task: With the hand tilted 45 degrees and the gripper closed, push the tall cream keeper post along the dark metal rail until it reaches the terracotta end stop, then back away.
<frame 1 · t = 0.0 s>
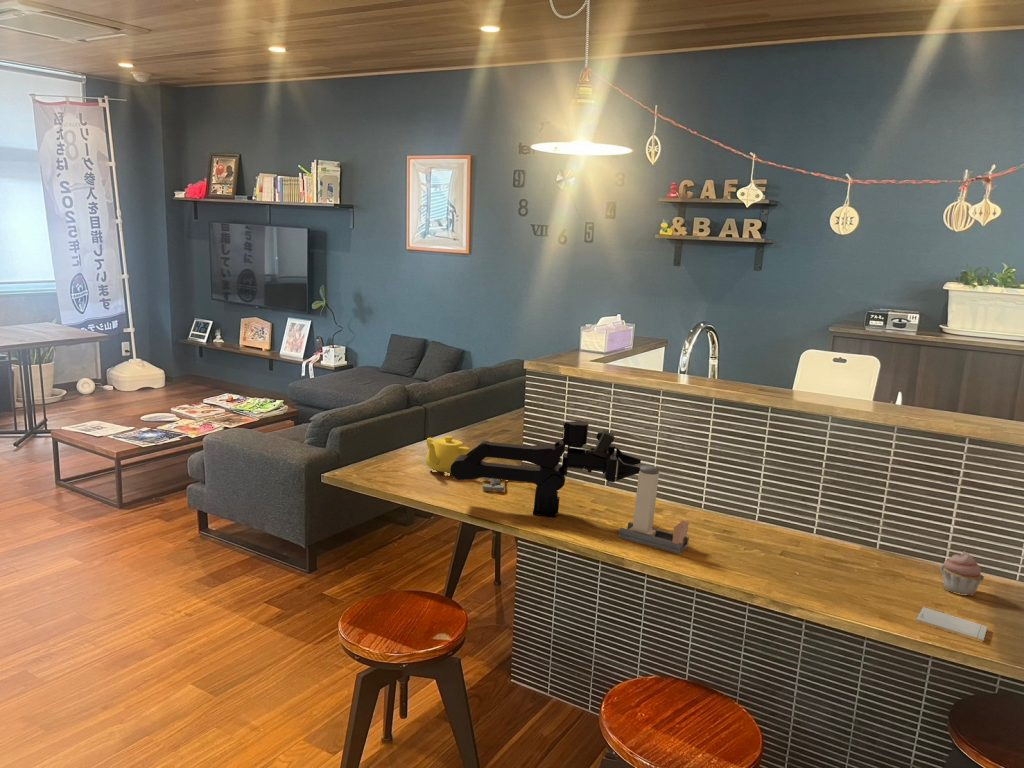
hand: (641, 465, 207), 17 cm above the table, tool horizontal, fingers open, 9 cm apart
rail: (641, 538, 197), on the table
cupcake: (958, 591, 180), on the table
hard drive: (950, 629, 160), on the table
teapot: (442, 473, 242), on the table
pulley system: (505, 483, 238), on the table
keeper: (645, 501, 195), point 10 cm above the table, slide at 0.0 cm
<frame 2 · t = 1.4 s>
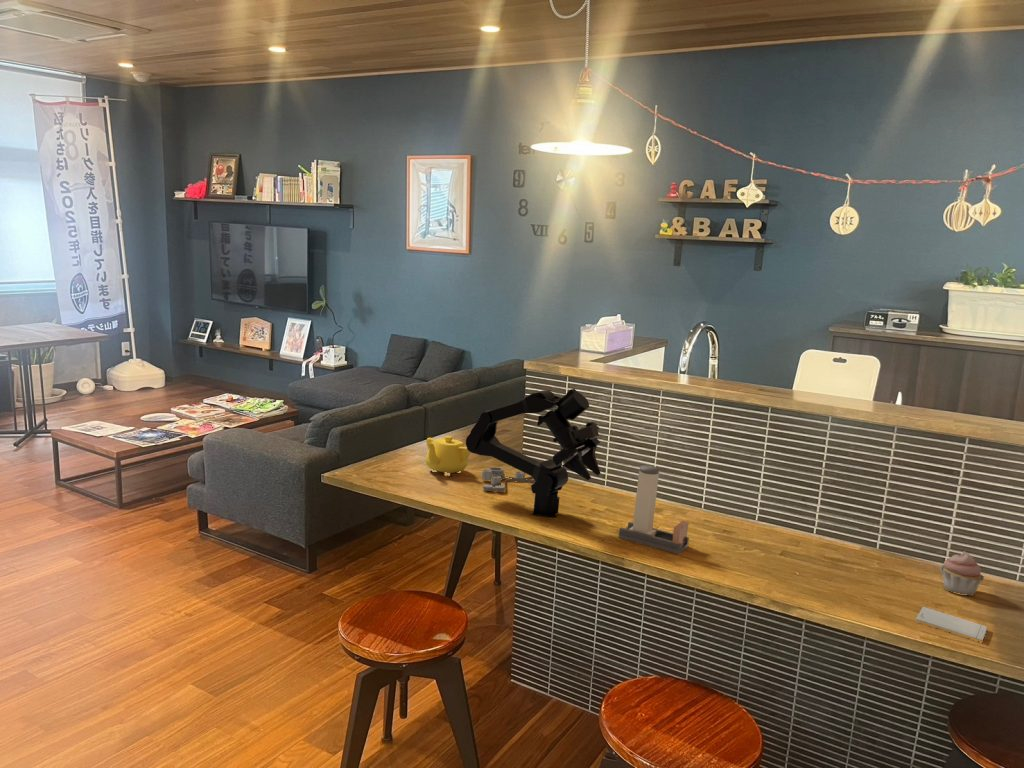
hand: (594, 476, 202), 14 cm above the table, tool tilted 45°, fingers open, 6 cm apart
nothing on the table moved.
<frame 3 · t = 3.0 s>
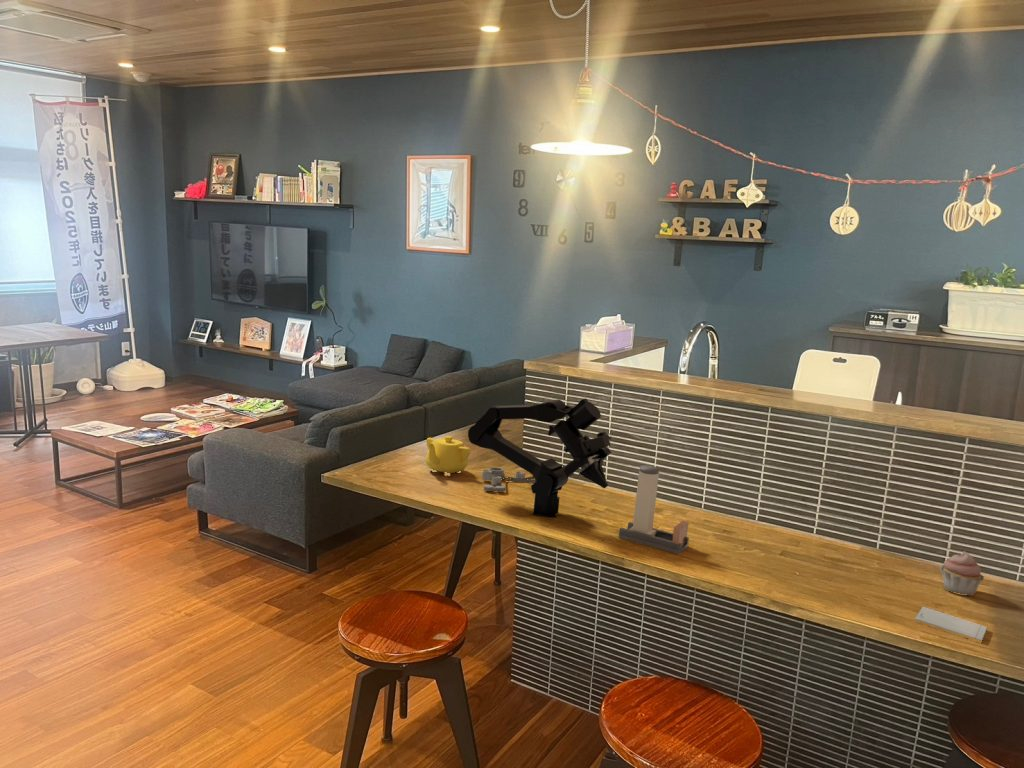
hand: (606, 487, 201), 12 cm above the table, tool tilted 45°, fingers closed
nothing on the table moved.
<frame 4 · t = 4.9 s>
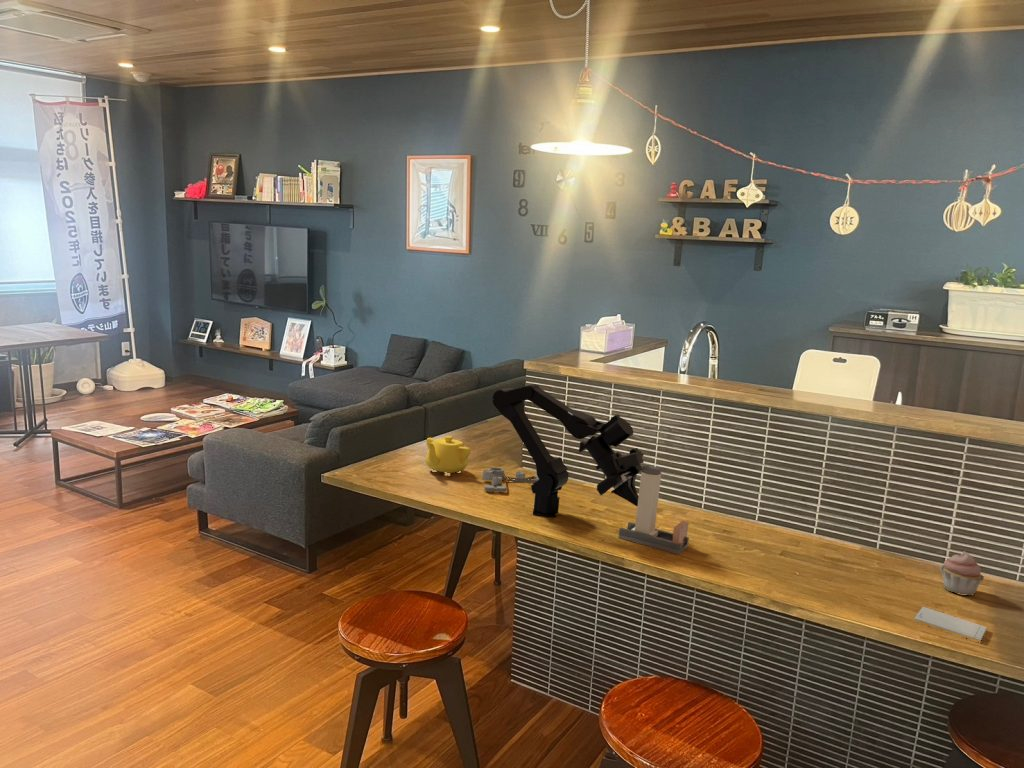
hand: (639, 505, 196), 9 cm above the table, tool tilted 45°, fingers closed, pressing on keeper
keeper: (648, 501, 195), point 10 cm above the table, slide at 0.6 cm, touching gripper
everything else where it was.
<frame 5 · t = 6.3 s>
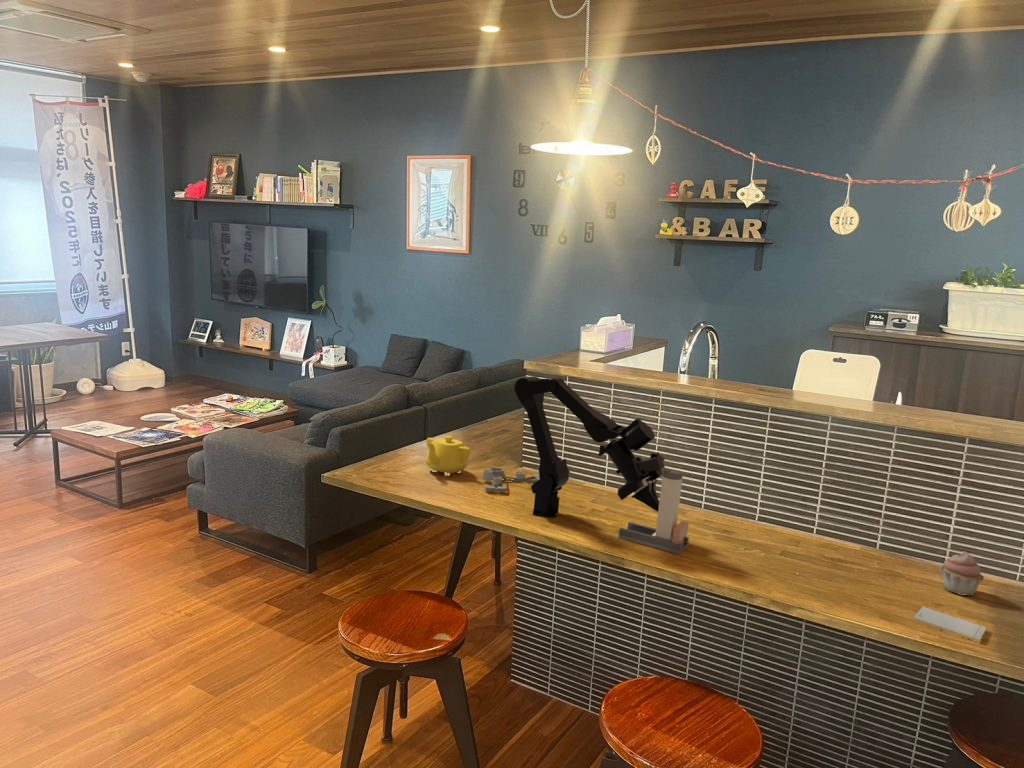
hand: (659, 510, 194), 9 cm above the table, tool tilted 45°, fingers closed, pressing on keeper
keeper: (668, 506, 192), point 10 cm above the table, slide at 6.3 cm, touching gripper, rail
everything else where it was.
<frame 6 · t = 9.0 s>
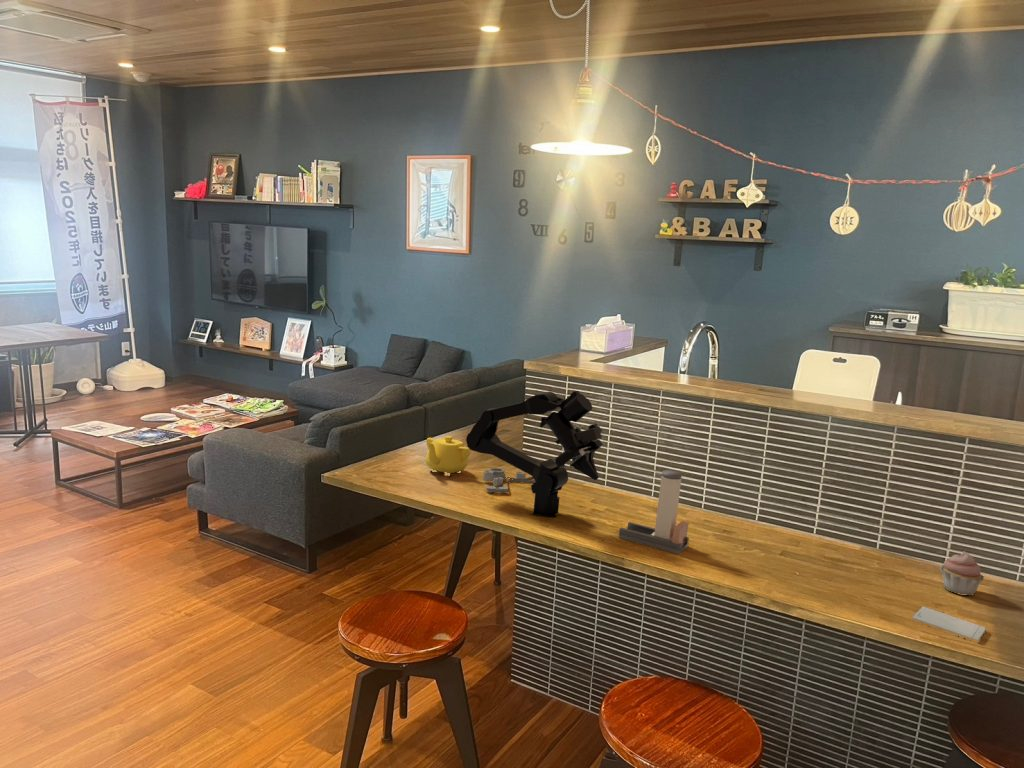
hand: (596, 479, 202), 13 cm above the table, tool tilted 45°, fingers closed
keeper: (667, 506, 192), point 10 cm above the table, slide at 6.0 cm
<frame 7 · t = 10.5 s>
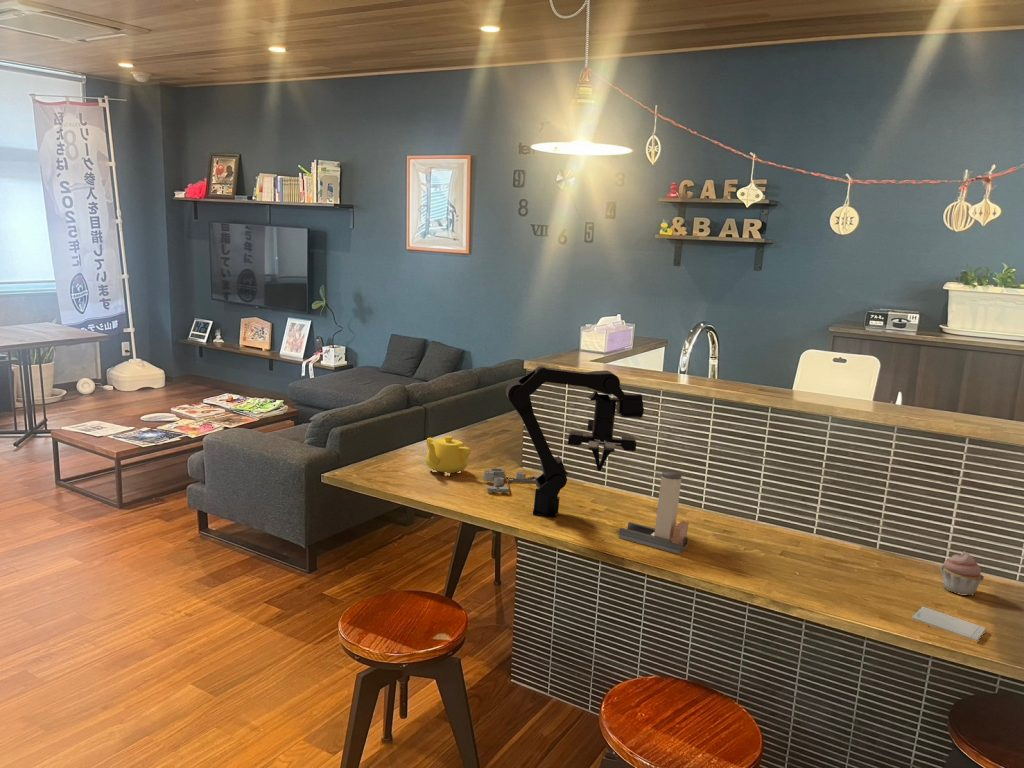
hand: (599, 470, 211), 13 cm above the table, tool pointing down, fingers closed
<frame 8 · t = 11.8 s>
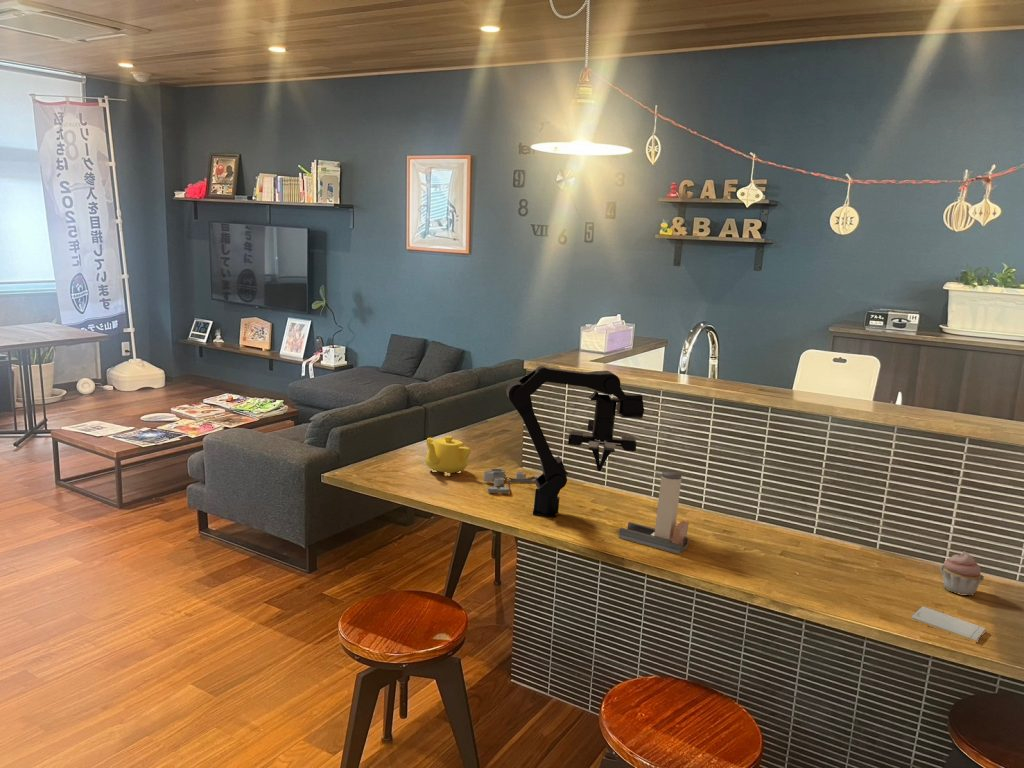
hand: (599, 470, 211), 13 cm above the table, tool pointing down, fingers closed
at the end: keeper slide at 6.0 cm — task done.
